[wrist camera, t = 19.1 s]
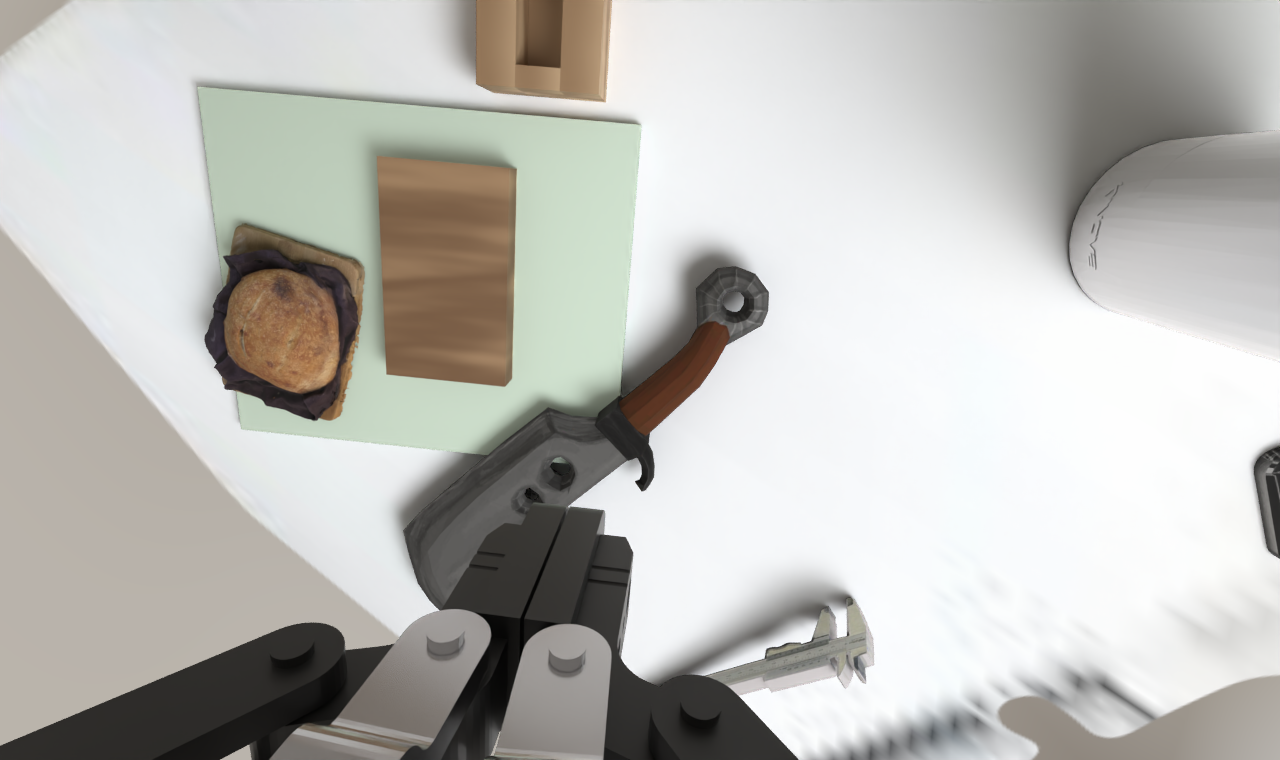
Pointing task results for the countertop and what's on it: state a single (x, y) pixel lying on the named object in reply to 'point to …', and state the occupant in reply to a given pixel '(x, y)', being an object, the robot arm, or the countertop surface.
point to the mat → (349, 226)
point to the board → (448, 269)
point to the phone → (1269, 497)
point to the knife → (574, 444)
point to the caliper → (809, 657)
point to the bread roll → (287, 323)
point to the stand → (544, 47)
